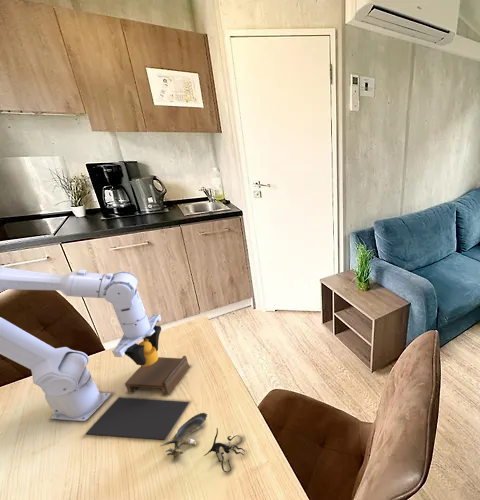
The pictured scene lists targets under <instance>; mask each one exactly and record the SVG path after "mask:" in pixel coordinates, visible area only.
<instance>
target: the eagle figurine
mask: <svg viewBox="0 0 480 500" xmlns="http://www.w3.org/2000/svg"><path fill="white" fill-rule="evenodd" d="M207 418H208V413H206V412H200V413H198V414H195V415H194V416H192V417H191V418H189V419H188V420H187V421H185V422H184V423H183V424H182V425H181V426H180V427H179V428H178V430H177V432H176V433H175V434H174V435H173V437H172V438H171V439H169V440H167V441H165V442H163V443H160V444H159V445H158V446H160V447H162V446H169V445H171V444H174V449H173V448H171V447H170V448H169V449H166V450H165V453H166V456H173V459H174V460H176V459H177V458H178V457H179V455H182V454H184V451H183V450H180V449H181V446H186V445H194V446H196V445H197V443H196V441H195V439H193V438H190V436H191V435H192V433H193V432H195V431H196V430H198V429H200V428H202V427H203V423H204V422H206V420H207Z"/></svg>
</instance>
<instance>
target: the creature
mask: <svg viewBox="0 0 480 500" xmlns="http://www.w3.org/2000/svg"><path fill="white" fill-rule="evenodd" d="M218 434H219V429H218V427H216V432H215V436H214V438H213V443H212V446H211V448H210V449H209V450H208V451H207V453H205V454H204V455H203V457H205V456H207V455H208V454H210V453H212V452H214V453H215V455H216V457H217V460H218V462H219V463H221V464H220V465H221V469H222V471H223V472H224V473H230V472H231V471H232V466H231V464H230V459H227V462H228V466H229V468H230V469H229V470H228V471H227V470H225V469H224V465H223V464H226V462H225V461H224V459H225V457H224V453H225V454H230V453H231V451H233V452H234V455H235V454H236V455H238V454H241V455H242V456H245V454H244V453H245V452H246V450H245V449H243V448H242V447H238V446H237V445H239V444H240V442H243V439H242V437H241V436H240V435H234V436H231V435H228V436H227V437H226V439H227V441H229V442H228V444H224V443H222V442H217V438H218ZM236 437H239V438H240V442H237V444H233V445H231V444H230V443H231V442H232V440H234V439H235V438H236ZM220 448H222V449H223V451H221V452H220V450H221V449H220ZM234 448H236V449H234ZM236 450H238V451H236ZM239 450H241V451H243V452H244V453H242V452H241V451H239ZM218 454H220V457H221V459H222V460H221V459H220V457H219V455H218Z"/></svg>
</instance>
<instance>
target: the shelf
mask: <svg viewBox="0 0 480 500" xmlns="http://www.w3.org/2000/svg"><path fill="white" fill-rule="evenodd" d="M189 369H190V365H189V360H188V358H187V356H186V355H183V356H182V357H164V356H158V360H157V361H156V362H155V363H153V364H152V365H149V366H145V367H143V366H141V365H140V366H139V367H138V369H136V371H135V372H134V373H132V375H131V376H130V377H129V378H128V379H127V380H126V381H125V382H124V386H125V388H126V390H127V392H128V393H134V391H135V390H136V389H137V388H149V389H151V388H152V389H162V391H163V393H164V395H165V396H170V395H171V393H172V391H173V390H174V389H175V388H176V387H177V385H178V384H179V382H180V381H181V379H182V378H183V377H184V375H185V374H186V372H188V370H189Z"/></svg>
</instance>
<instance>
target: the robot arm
mask: <svg viewBox="0 0 480 500" xmlns="http://www.w3.org/2000/svg"><path fill="white" fill-rule="evenodd" d="M87 271H88V270H87V269H79V270H77V271H76V270H73V271H70V272H68V273H66V274H57V273H49V272H42V271H33V270H26V269H19V268H10V267H6V266H3V265H0V293H1V292H4V291H6V290H14V291H15V290H20V291H60V292H61V293H62V294H64V295H65V296H66V297H75V298H76V297H77V298H94V299H104V300H105V301H106V302H108V303H109V304H112V307H113V310H114V313H115V315H116V318H117V320H118V323H119V325H120V328H121V331H122V332H123V335H122V337H121V338H120V340H119V341H118V343H117V345H116V346H115V347H114V348H113V349H112V351H111V352H112V355H113V357H116V358H123V357H124V356H126V357H128V358H130V359H131V360H132V361H133V362H134V363H135V364H136V366H141V365H145V364H146V360H145V356H144V345H138V344H139V343H138V342H140V341H142V340H144V339H145V338H148V339H149V341H148V342H150V343H151V344H152V346H153V347H155V349H156V352H157V353H158V351H159V338H160V334H161V331H162V327H161V326H160V325H156V324H157V323H160V322H161V321H162V316H161V314H157V313H156V314H154V313H153V314H152V315H151V316H149V317H148V315H147V312H146V309H145V306H144V304H143V301H142V298H141V296H140V293H139V291H138V289H137V287H138V282H139V281H138V278H137V276H136V275H135V274H134V273H131V272H129V271H125V270H120V271H116V272H115V273H111V272H110V273H109V272H107V273H98V272H89V271H88V272H87ZM0 355H1V356H3V357H5V358H7V359H9V360H11V361H13V362H14V363H17V364H19V365H21V366H23V367H25V368H26V369H29V370H30V371H31V376H32V377H31V378H32V382H33V384H34V385H36V386H38V387H40V389H41V391H42V392H43V393H44V399H45V401H46V403H47V404H48V406H49V407H50V409H51V410H52V412H53V415H52V416H51V417H50V418H51V419H52V420H61V421H77V422H86V421H88V420H89V419H90V417H91V416H93V414H94V413H95V412H96V411H97V410H98V409H99V408H100V407H101V406H102V405H103V404H104V403H105V402H106V401H107V399H109V398H110V397H111V395H112V394H111V393H110V392H101V391H100V390H99V388H98V386H97V384H96V382H95V380H94V378H93V376H92V374H91V372H90V371H89V370H88V367H87V366H88V364H89V361H90V359H89V356H88V354H86V353H85V352H83V351H80V350H74V349H71V348H69V347H67V346H62V347H57V348H55V347H54V346H52V345H50V344H48V343H46V342H45V341H43V340H41V339H40V338H38V337H36V336H34V335H32V334H31V333H29V332H27V331H26V330H25V329H24V330H23V328H20V327H18V326H17V325H16V324H14V323H11V322H10V321H8V320H7V319H5V318H3V317H1V316H0Z"/></svg>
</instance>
